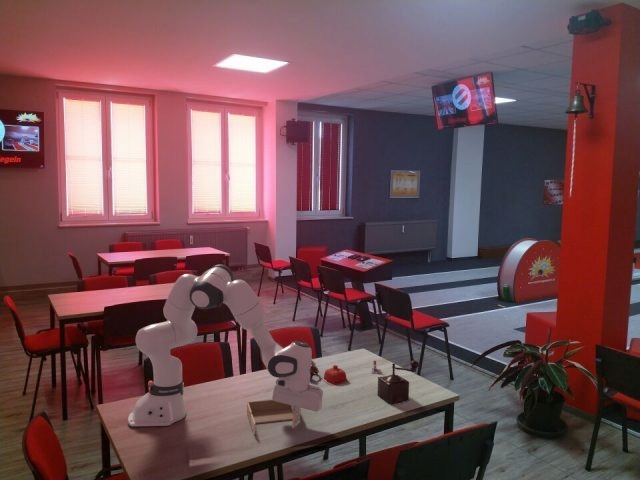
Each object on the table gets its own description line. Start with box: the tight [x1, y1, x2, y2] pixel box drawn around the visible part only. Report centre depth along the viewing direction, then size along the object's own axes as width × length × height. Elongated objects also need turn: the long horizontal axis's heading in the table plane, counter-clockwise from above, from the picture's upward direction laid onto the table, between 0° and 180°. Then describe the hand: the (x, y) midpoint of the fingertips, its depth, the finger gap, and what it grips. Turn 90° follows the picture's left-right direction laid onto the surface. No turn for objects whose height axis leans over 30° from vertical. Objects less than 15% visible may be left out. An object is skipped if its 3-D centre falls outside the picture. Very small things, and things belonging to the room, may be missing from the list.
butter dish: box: [323, 364, 350, 386], centre depth 240 cm, size 12×12×8 cm
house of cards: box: [371, 360, 382, 375], centre depth 249 cm, size 9×9×8 cm
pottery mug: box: [310, 366, 319, 381], centre depth 243 cm, size 12×9×8 cm
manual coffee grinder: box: [377, 360, 420, 405], centre depth 220 cm, size 16×11×18 cm
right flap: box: [291, 408, 302, 429], centre depth 194 cm, size 9×1×4 cm, turn 166°
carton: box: [246, 398, 297, 426], centre depth 201 cm, size 20×10×5 cm, turn 106°
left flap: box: [249, 413, 256, 435], centre depth 189 cm, size 9×1×4 cm, turn 16°
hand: (295, 416), depth 196 cm, fingers closed, pressing on right flap
